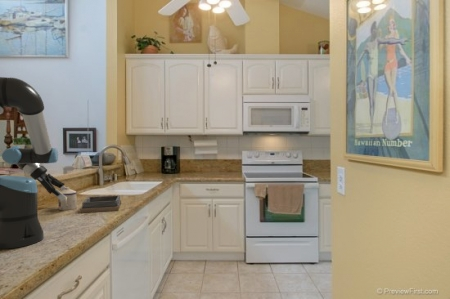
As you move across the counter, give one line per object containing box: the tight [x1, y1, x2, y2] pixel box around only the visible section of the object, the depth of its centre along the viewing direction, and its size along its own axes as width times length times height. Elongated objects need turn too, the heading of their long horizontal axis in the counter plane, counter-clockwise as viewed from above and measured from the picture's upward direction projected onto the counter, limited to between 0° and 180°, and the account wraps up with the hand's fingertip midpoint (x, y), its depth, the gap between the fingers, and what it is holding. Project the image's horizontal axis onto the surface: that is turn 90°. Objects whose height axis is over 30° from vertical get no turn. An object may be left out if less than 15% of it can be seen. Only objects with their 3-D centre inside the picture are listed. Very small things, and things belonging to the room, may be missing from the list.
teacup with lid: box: [58, 186, 78, 211], centre depth 153 cm, size 12×9×12 cm
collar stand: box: [80, 194, 122, 214], centre depth 156 cm, size 20×18×5 cm
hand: (67, 197), depth 153 cm, fingers open, 13 cm apart
